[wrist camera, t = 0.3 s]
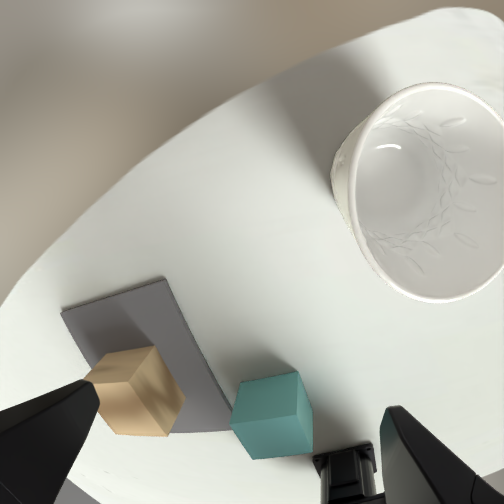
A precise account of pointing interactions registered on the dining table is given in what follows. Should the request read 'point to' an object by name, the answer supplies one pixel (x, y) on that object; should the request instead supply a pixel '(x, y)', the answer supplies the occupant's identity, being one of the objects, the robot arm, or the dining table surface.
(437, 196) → the white cup
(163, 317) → the build board
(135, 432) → the oak base block
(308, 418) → the teal cube
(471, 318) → the dining table surface
